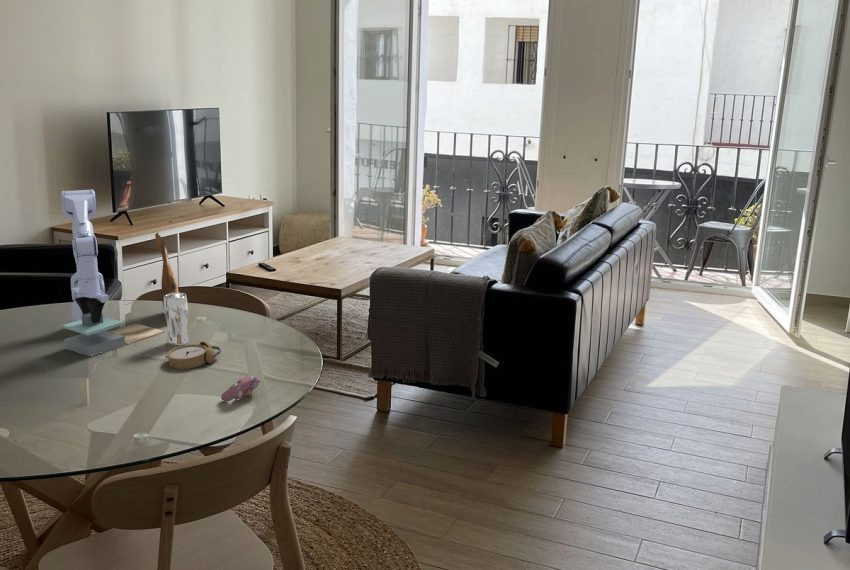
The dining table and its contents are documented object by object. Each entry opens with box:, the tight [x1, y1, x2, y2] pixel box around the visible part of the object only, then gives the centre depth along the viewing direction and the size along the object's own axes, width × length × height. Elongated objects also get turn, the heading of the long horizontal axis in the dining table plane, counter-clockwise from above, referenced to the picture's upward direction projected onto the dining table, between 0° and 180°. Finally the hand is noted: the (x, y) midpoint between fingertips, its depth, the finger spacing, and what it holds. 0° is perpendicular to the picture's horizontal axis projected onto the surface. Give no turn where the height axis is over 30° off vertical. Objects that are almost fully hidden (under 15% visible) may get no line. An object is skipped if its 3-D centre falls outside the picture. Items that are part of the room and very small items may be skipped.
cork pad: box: [109, 322, 166, 345], centre depth 260 cm, size 14×14×1 cm
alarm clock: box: [165, 341, 222, 370], centre depth 237 cm, size 11×5×15 cm
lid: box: [62, 313, 124, 335], centre depth 245 cm, size 12×12×4 cm
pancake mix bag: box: [154, 231, 180, 310], centre depth 273 cm, size 7×19×28 cm, turn 17°
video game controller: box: [220, 374, 261, 402], centre depth 212 cm, size 10×5×7 cm, turn 149°
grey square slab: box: [64, 330, 126, 357], centre depth 247 cm, size 12×12×3 cm
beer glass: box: [163, 292, 190, 347], centre depth 251 cm, size 7×7×15 cm
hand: (92, 321), depth 246 cm, fingers closed on lid, 3 cm apart
